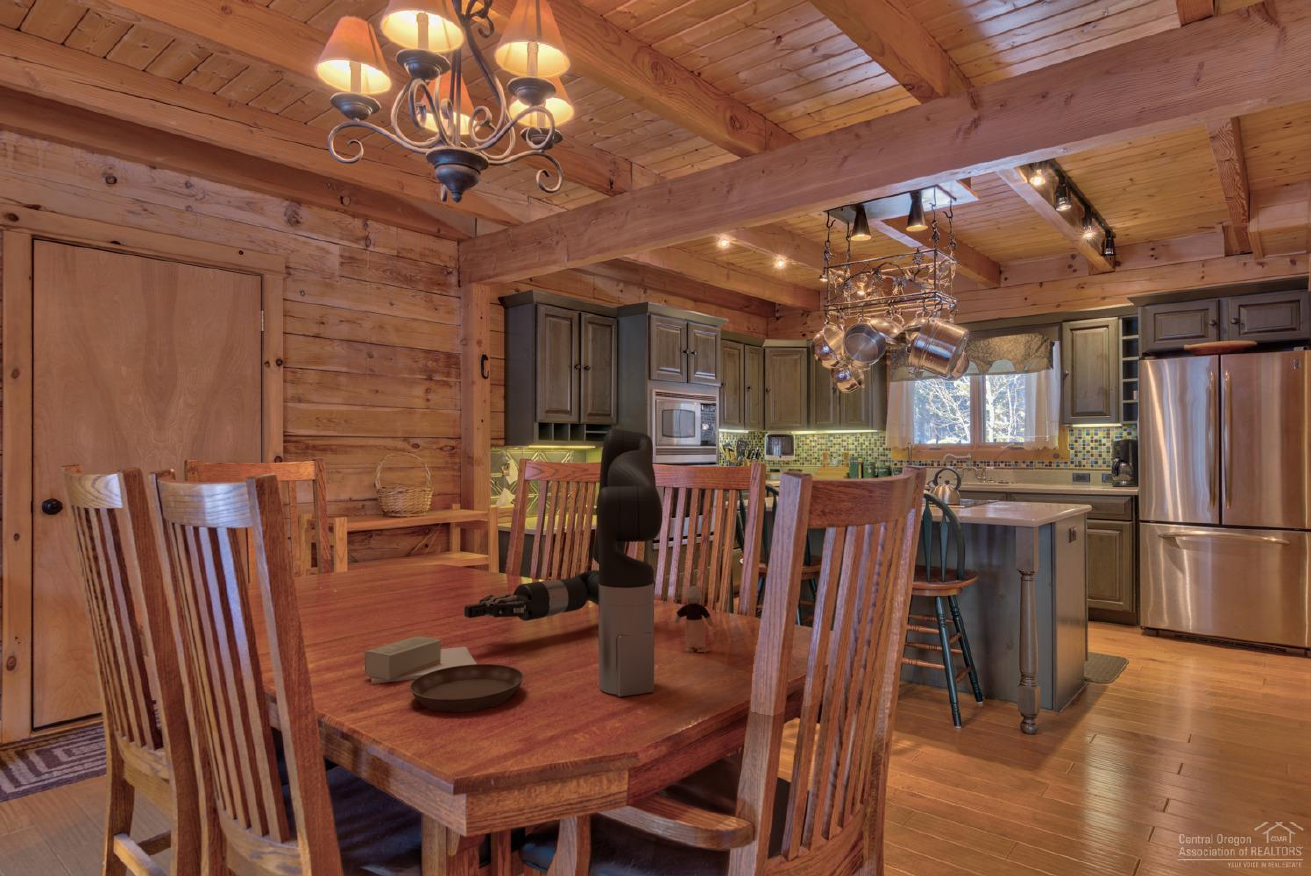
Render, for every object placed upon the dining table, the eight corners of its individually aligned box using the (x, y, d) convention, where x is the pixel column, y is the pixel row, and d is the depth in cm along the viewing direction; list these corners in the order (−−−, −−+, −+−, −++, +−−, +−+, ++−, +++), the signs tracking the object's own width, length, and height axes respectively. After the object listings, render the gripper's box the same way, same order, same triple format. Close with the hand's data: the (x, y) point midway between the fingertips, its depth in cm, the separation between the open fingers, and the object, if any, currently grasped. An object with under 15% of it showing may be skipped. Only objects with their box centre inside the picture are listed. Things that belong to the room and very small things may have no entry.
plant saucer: (407, 723, 109) (407, 702, 109) (411, 686, 126) (411, 668, 126) (529, 710, 114) (529, 690, 114) (518, 677, 131) (518, 659, 131)
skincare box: (417, 658, 140) (363, 676, 129) (417, 634, 140) (363, 650, 130) (442, 662, 137) (389, 681, 126) (441, 638, 137) (389, 655, 126)
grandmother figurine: (713, 648, 148) (713, 584, 148) (713, 653, 144) (712, 587, 145) (675, 647, 149) (674, 583, 149) (673, 652, 145) (673, 587, 145)
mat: (479, 671, 134) (479, 667, 134) (371, 684, 127) (371, 680, 127) (465, 649, 148) (465, 646, 148) (368, 659, 141) (368, 656, 141)
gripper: (523, 577, 161) (449, 588, 149) (559, 585, 152) (483, 597, 140) (523, 612, 161) (449, 626, 149) (559, 622, 152) (483, 637, 140)
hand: (466, 612), depth 145 cm, fingers closed
